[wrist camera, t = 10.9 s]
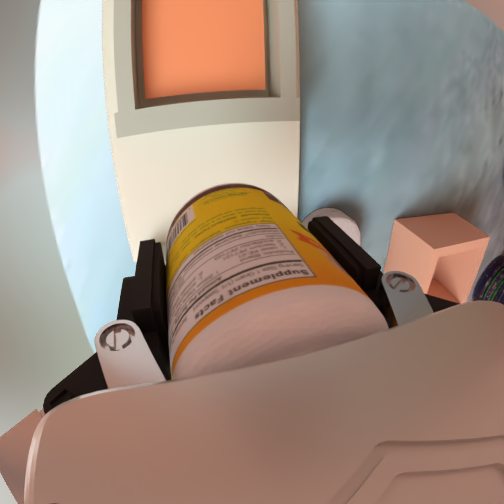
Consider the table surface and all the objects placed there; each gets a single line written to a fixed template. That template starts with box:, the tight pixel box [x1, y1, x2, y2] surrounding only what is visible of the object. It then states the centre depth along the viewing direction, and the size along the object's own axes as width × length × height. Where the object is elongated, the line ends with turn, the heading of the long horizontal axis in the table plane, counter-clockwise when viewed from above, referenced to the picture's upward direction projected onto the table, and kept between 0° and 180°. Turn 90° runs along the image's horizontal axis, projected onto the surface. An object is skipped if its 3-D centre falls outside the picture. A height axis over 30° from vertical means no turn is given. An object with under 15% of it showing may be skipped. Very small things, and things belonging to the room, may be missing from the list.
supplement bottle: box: [165, 183, 389, 380], centre depth 9 cm, size 6×6×10 cm
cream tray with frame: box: [102, 0, 300, 266], centre depth 17 cm, size 13×21×3 cm, turn 2°
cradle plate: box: [142, 0, 266, 99], centre depth 15 cm, size 8×8×1 cm
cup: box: [383, 213, 490, 304], centre depth 28 cm, size 10×10×6 cm
